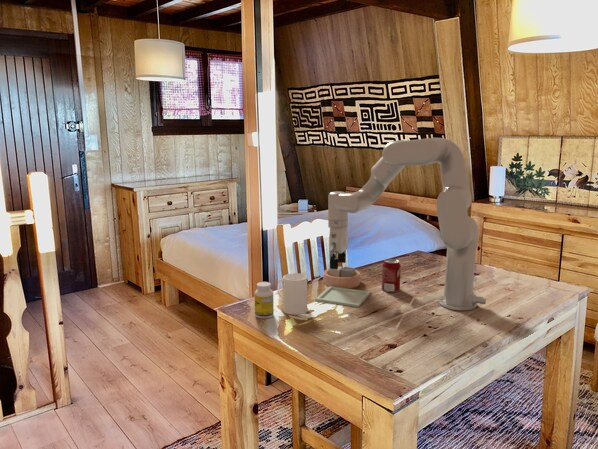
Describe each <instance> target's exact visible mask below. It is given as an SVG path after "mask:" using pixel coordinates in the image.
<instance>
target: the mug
mask: <svg viewBox="0 0 598 449" xmlns="http://www.w3.org/2000/svg"><path fill="white" fill-rule="evenodd" d="M282 282H283V284H282V285H283V286H282V288H283V289H282V290H283V294H282V293H281V290H280V286H281V283H282ZM276 288H277V292H278V295H279V297H280V298H281V299H282V300H283V302H282V303H283V305H282V306H283V307H282V312H283V313H285V314H287V315H291V316H292V315H295V316H296V315H297V316H298V315H304V313H305V312H307V311H308V276H307V275H306V274H303V273H296V272H295V273H292V272H291V273H287V274H285V275H283V277H282V278H281V279H279V281H278V283H277V286H276Z"/></svg>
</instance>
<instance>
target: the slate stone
mask: <svg viewBox="0 0 598 449" xmlns="http://www.w3.org/2000/svg"><path fill="white" fill-rule="evenodd" d="M355 270H356V267H355V268H354V267H349V266H343V268H342V269H341V275H340V277H352V276H355Z"/></svg>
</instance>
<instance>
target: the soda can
mask: <svg viewBox="0 0 598 449" xmlns="http://www.w3.org/2000/svg"><path fill="white" fill-rule="evenodd" d="M401 269H402V265H401V263H400V260H399V259H397V258H386V259H384V262H383V263H382V269H381V270H382V271H381V272H382V273H381V275H382V276H381V290H382V291H383V292H387V293H398V292H399V291H401V271H402V270H401Z"/></svg>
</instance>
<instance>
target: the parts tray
mask: <svg viewBox="0 0 598 449" xmlns="http://www.w3.org/2000/svg"><path fill="white" fill-rule="evenodd" d="M370 295H371V291H367V290H361V289H353V288H340V287H332V286H327V287H326V289H325V290H323V291H322V292H321V293H320V294H319V295H317V296H316V297H315V302H321V303H328V304H333V305H340V306H348V307H352V308H353V307H354V308H360V306H361V305H362V304H363V303H364V301H365V300H366V299H367V298H368V297H369V296H370Z"/></svg>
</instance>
